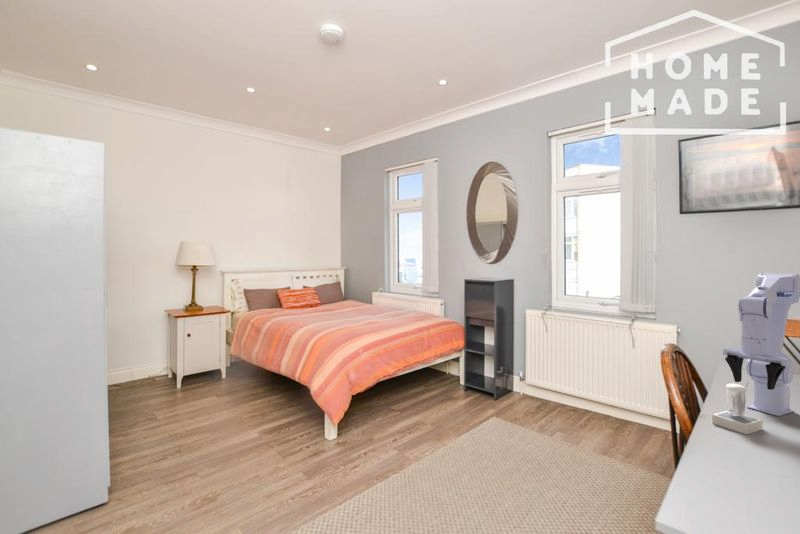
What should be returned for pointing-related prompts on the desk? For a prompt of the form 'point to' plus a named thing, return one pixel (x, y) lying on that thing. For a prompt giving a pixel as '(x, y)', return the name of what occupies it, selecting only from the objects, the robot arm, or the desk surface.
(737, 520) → the desk surface
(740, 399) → the milkshake
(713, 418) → the plinth
